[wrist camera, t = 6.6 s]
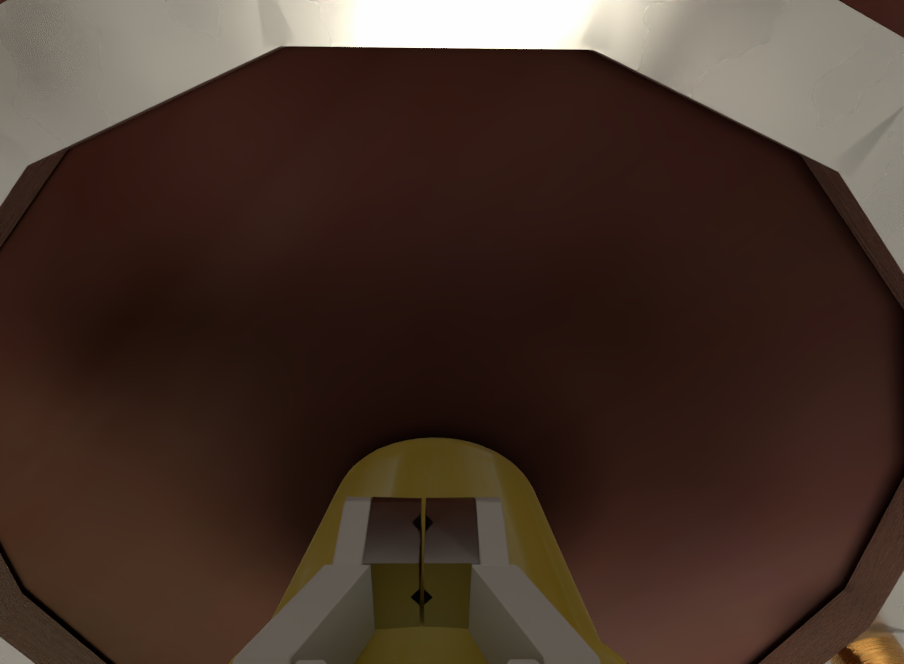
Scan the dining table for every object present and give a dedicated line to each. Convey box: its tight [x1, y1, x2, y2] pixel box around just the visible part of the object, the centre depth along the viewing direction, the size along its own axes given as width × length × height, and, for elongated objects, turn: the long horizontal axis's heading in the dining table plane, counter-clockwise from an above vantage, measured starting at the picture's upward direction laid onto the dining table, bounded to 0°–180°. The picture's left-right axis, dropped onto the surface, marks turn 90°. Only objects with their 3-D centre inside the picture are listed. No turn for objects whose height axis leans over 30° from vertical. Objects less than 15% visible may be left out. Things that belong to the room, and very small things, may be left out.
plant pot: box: [228, 437, 627, 664], centre depth 15 cm, size 10×10×10 cm
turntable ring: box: [0, 0, 904, 664], centre depth 17 cm, size 35×35×6 cm
